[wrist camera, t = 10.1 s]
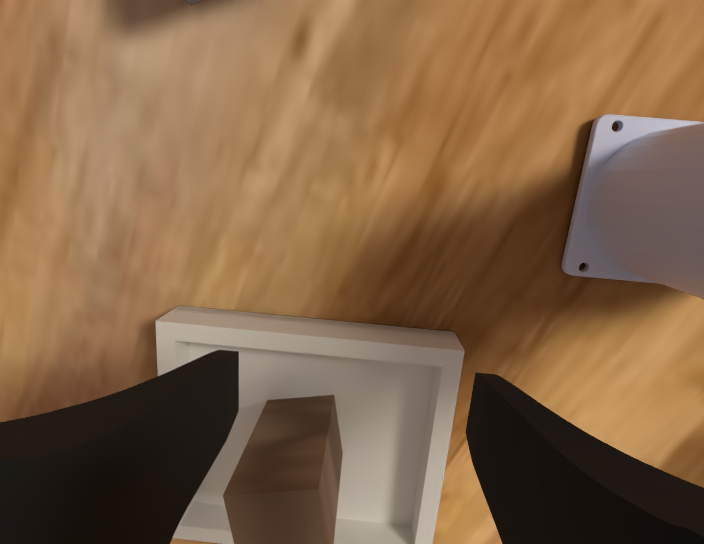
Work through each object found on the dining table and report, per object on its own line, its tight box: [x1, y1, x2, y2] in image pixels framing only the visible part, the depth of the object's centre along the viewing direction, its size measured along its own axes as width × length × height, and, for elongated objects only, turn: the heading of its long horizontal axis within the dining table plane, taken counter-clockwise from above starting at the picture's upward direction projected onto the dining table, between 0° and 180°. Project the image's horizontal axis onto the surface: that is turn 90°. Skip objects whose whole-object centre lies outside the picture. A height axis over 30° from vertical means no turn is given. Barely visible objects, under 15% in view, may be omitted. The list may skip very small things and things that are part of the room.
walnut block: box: [223, 395, 343, 544], centre depth 19 cm, size 4×4×7 cm
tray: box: [155, 306, 465, 544], centre depth 22 cm, size 16×14×2 cm
